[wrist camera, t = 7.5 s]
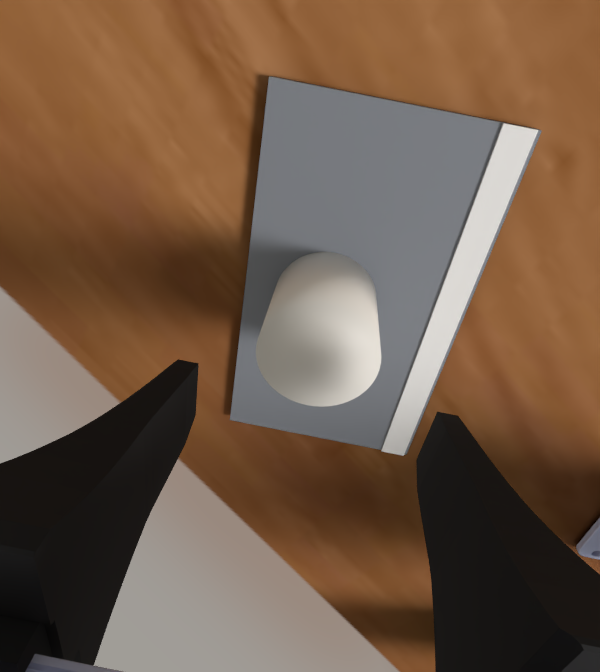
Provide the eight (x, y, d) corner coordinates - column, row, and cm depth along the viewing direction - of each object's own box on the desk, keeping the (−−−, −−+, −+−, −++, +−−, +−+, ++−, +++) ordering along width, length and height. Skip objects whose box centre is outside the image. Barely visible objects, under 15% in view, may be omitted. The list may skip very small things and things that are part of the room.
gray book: (537, 129, 16) (542, 131, 15) (405, 449, 24) (406, 456, 24) (270, 76, 16) (268, 76, 15) (231, 414, 24) (229, 421, 24)
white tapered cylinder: (388, 263, 19) (396, 316, 15) (362, 350, 21) (364, 416, 17) (282, 242, 19) (263, 290, 15) (268, 332, 21) (249, 393, 17)
